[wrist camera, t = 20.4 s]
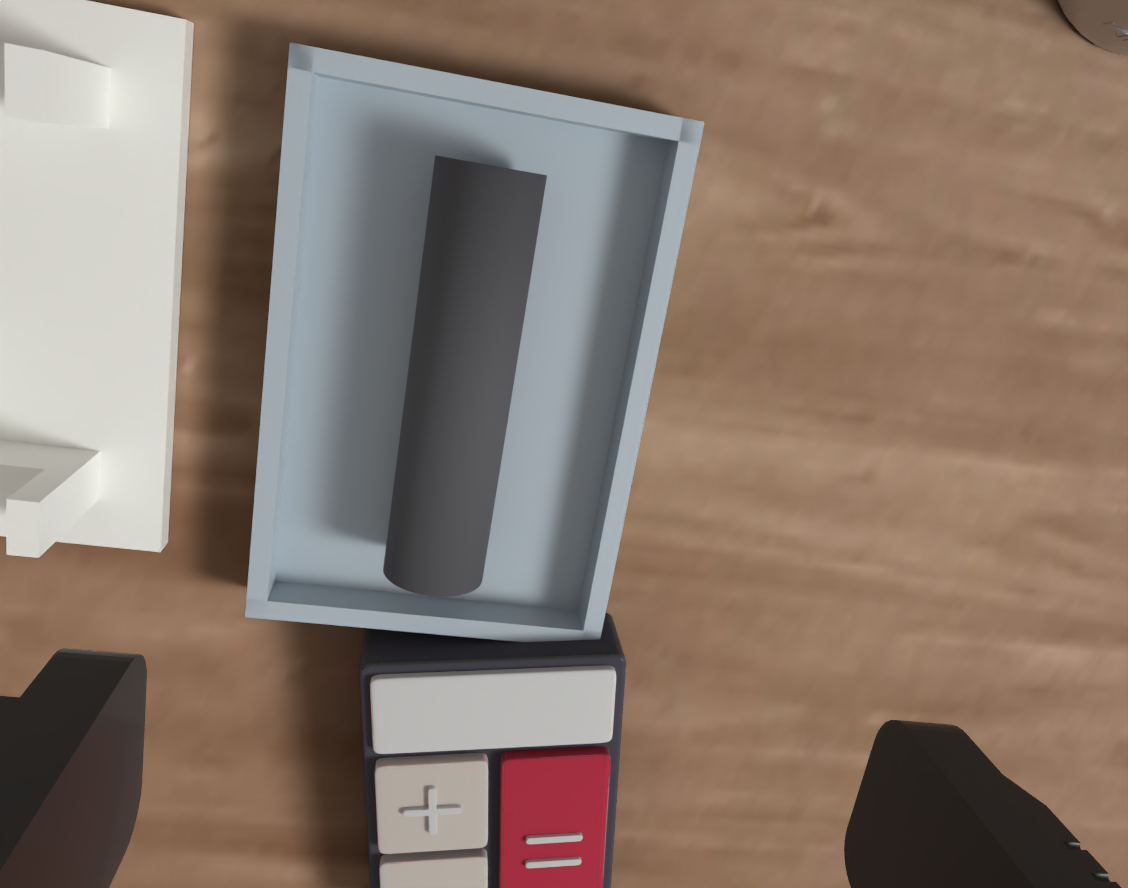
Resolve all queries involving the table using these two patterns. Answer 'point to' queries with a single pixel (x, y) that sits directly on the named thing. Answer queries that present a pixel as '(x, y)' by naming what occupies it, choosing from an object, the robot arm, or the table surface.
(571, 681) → the calculator
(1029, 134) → the table surface
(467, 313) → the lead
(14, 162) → the cradle
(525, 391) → the tray
